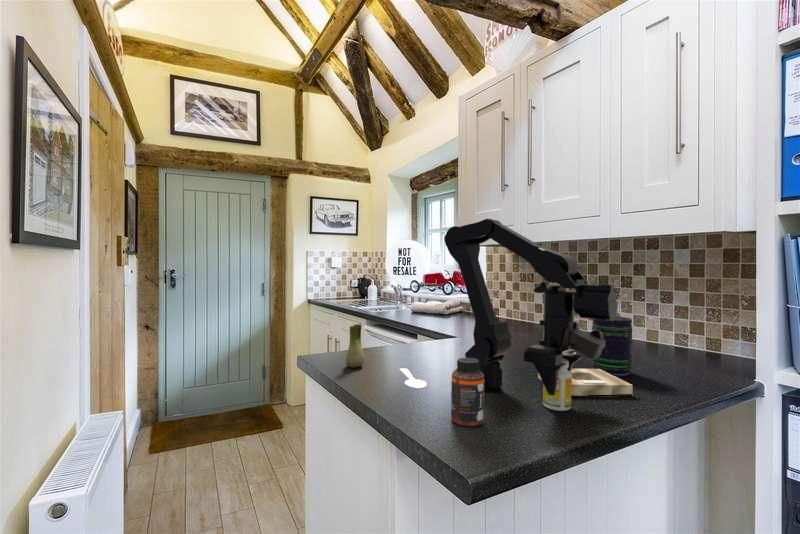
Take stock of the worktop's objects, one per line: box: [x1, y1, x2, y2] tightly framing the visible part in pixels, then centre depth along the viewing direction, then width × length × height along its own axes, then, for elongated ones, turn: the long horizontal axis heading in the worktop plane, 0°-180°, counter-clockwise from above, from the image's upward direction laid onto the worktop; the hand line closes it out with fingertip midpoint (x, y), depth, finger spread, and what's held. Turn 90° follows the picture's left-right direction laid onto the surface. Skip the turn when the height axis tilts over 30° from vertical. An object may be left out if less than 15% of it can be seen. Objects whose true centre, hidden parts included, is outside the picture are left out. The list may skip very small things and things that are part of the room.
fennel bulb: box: [345, 323, 365, 369], centre depth 109 cm, size 6×5×12 cm
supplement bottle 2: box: [542, 359, 572, 412], centre depth 80 cm, size 5×5×10 cm
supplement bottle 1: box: [450, 357, 485, 427], centre depth 72 cm, size 6×6×11 cm
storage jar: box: [590, 315, 633, 374], centre depth 109 cm, size 10×10×15 cm
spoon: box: [399, 367, 428, 390], centre depth 100 cm, size 5×18×1 cm, turn 12°
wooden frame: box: [537, 368, 634, 397], centre depth 95 cm, size 16×14×3 cm
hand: (557, 391), depth 80 cm, fingers closed on supplement bottle 2, 5 cm apart
